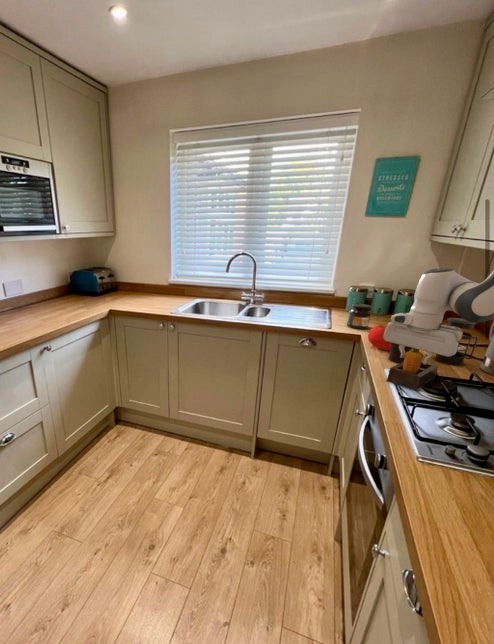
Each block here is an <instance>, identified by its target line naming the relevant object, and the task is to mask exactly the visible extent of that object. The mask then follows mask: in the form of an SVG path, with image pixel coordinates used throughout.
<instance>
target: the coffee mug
mask: <svg viewBox="0 0 494 644" xmlns="http://www.w3.org/2000/svg"><path fill="white" fill-rule="evenodd" d="M399 345H400V344H396V343H392V342H391V345H390V350H389V354H388V360H389V361H390V362H392V363H395V364H399V363H401V362H403V361H404V359H403V358H400V355H401V352H400V349H399ZM404 349H405V353H406V352H408V351H410V350H413V348H412V347H408V346H406V347H405V348H404Z"/></svg>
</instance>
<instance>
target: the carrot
mask: <svg viewBox="0 0 494 644" xmlns="http://www.w3.org/2000/svg"><path fill="white" fill-rule="evenodd" d="M423 357H424V353H422V352H421V350H420V349H416V348H413V350H410V351H408V352H406V354H405V358H404V363H403V370H404V371H407V372H410V373H414V374H416V373H417V372H418V370H419V368H420V365H421V363H420V361H421V358H423ZM424 358H425V357H424Z"/></svg>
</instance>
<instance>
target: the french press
mask: <svg viewBox="0 0 494 644" xmlns="http://www.w3.org/2000/svg"><path fill="white" fill-rule="evenodd" d="M446 320H447V323H448V325H449V326H456V327H458V328H459V329H464V331H463V330H462V332H463V335H462V338H461V340H468V343H467V346H464V345H462V344H460V342H461V340H460V341H459V342H458V348H457V352H456V354H454V355H453V356H450V357H447V356H443V355H439V354H435V356H434V358H433V359H434V361H436V362H439V363H441V364H445V365H449V366H463V365H464V360H465V359H467V360H471V359H472V357H473V355H474V351H475V349H476V347H477V343H478V341H479V337H478V336H476V335H473V334H472V333H470V332H467V331H465V330H472V329H474V327H475V325H477V323H474V322H469V321H466V320H464V319H463V318H462V317H447V319H446ZM457 331H459V330H457ZM472 338H474V339H475V342H474V345H473V347H472V350H471V353H470V355H469V356H466V354H467V352H468V349H469V346H470V343H471V340H472ZM461 352H464V353H461Z"/></svg>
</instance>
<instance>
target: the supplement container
mask: <svg viewBox="0 0 494 644" xmlns="http://www.w3.org/2000/svg"><path fill="white" fill-rule="evenodd" d="M372 307H373V306H372V305H370V304H366V303H352V304H351V305H350V309H349V310H348V316H347V321H346V326H347V327H348V328H350V329H355V330H367V329H368V328H369V324H370V319H371V315H372V311H371V310H372Z"/></svg>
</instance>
